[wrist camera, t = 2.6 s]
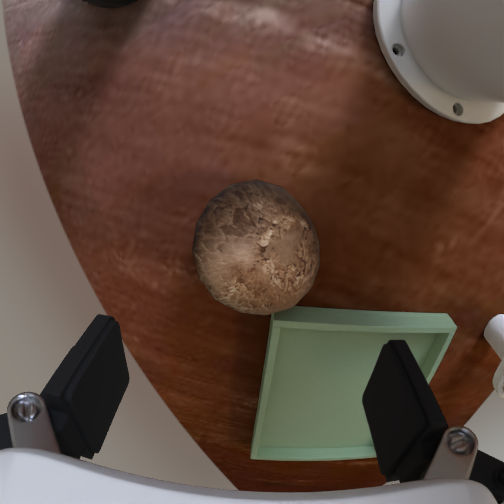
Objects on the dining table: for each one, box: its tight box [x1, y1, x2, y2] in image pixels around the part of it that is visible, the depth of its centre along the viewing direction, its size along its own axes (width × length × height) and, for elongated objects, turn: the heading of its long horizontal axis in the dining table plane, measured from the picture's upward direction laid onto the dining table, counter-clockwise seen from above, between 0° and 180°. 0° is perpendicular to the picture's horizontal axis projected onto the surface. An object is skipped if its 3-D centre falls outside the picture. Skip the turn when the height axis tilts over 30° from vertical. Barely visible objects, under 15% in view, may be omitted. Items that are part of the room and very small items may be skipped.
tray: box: [250, 306, 457, 461], centre depth 26 cm, size 19×15×2 cm
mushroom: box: [192, 180, 320, 315], centre depth 19 cm, size 8×8×6 cm
